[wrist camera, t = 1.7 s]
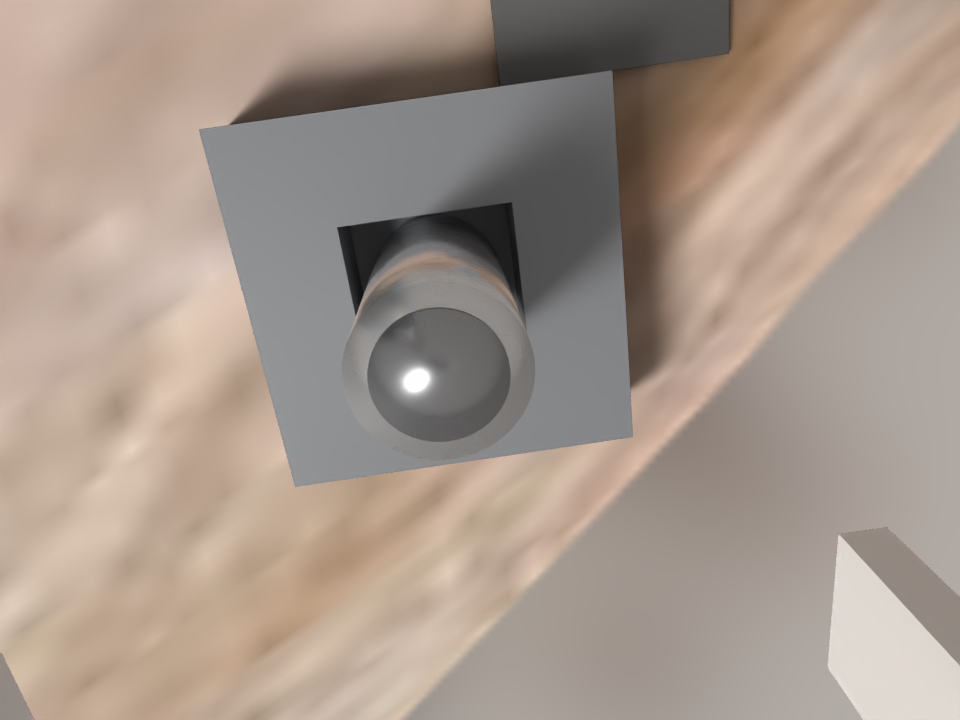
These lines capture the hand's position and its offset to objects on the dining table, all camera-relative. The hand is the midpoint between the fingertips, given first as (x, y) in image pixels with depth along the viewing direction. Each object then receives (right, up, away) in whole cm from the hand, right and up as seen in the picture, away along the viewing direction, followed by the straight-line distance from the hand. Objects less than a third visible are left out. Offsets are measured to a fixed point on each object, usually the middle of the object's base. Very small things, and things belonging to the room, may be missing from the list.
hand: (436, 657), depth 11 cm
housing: (-1, +9, +22) cm, 24 cm away
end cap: (-1, +9, +21) cm, 23 cm away
